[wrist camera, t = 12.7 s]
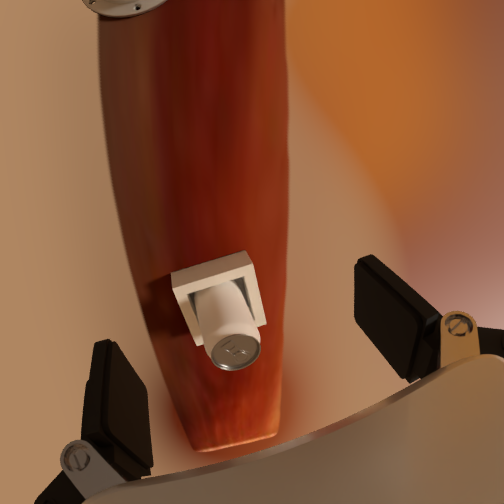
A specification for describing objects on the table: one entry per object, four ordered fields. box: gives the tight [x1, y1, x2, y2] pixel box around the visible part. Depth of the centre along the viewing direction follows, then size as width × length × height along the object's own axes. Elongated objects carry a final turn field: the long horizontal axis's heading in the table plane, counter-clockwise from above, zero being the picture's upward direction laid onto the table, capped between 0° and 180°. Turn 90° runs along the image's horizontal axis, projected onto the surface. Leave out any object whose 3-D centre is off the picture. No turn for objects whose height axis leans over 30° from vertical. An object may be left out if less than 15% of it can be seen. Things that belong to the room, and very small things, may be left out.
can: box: [194, 280, 261, 370], centre depth 39 cm, size 6×6×12 cm
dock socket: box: [171, 250, 266, 346], centre depth 43 cm, size 10×10×4 cm
